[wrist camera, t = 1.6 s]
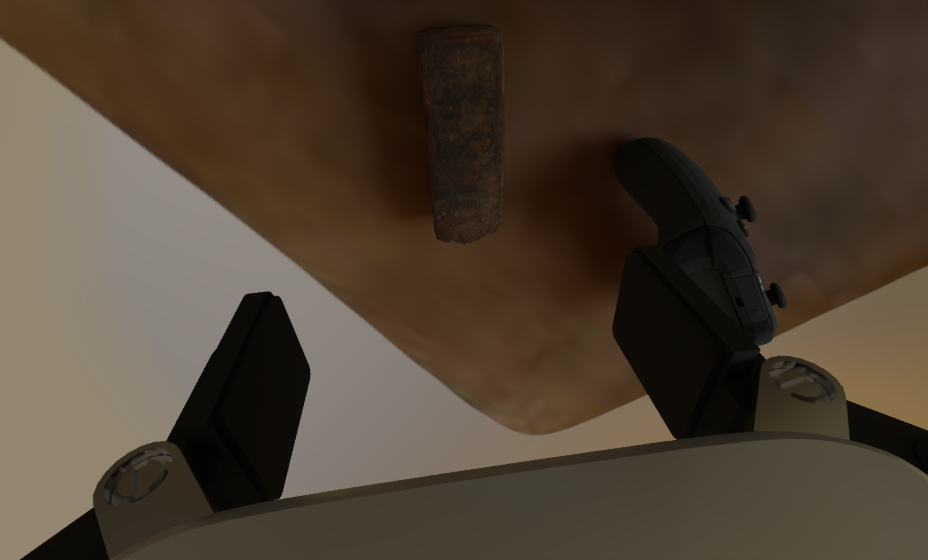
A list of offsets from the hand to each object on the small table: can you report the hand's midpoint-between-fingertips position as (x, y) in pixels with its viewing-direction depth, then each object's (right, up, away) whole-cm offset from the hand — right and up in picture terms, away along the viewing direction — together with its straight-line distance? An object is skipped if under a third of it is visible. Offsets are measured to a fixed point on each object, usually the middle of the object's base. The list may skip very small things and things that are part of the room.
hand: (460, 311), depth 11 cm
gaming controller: (+14, +6, +18) cm, 23 cm away
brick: (0, +10, +13) cm, 16 cm away
